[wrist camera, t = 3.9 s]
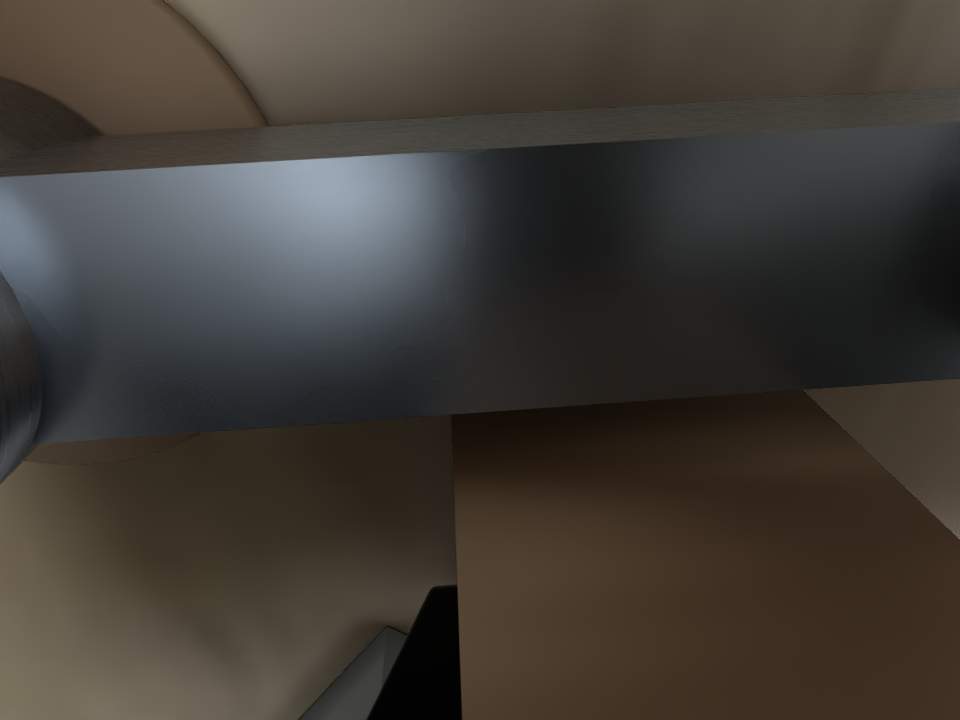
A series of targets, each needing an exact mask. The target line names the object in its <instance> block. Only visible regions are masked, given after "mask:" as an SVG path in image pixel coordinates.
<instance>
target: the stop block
mask: <svg viewBox="0 0 960 720" xmlns="http://www.w3.org/2000/svg"><path fill="white" fill-rule="evenodd" d="M451 418H452V446H453V474H454V502H455V530H456V558H457V587H458V615H459V643H460V671H461V699H462V720H960V540H959V539H958V538H957V537H956V536H955V535H954V534H953V533H952V532H951V531H950V530H949V529H948V528H947V527H946V526H945V525H943V524H942V523H941V522H940V521H939V520H938V519H937V518H936V517H935V516H934V515H933V514H932V513H931V512H930V511H929V510H928V509H927V508H926V507H925V506H924V505H922V504H921V503H920V502H919V501H918V500H917V499H916V498H915V497H914V496H913V495H912V494H911V493H910V492H909V491H908V490H907V489H906V488H905V487H904V486H903V485H901V484H900V483H899V482H898V481H897V480H896V479H895V478H894V477H893V476H892V475H891V474H890V473H889V472H888V471H887V470H886V469H885V468H884V467H883V466H882V465H881V464H879V463H878V462H877V461H876V460H875V459H874V458H873V457H872V456H871V455H870V454H869V453H868V452H867V451H866V450H865V449H864V448H863V447H862V446H861V445H860V444H858V443H857V442H856V441H855V440H854V439H853V438H852V437H851V436H850V435H849V434H848V433H847V432H846V431H845V430H844V429H843V428H842V427H841V426H840V425H839V424H837V423H836V422H835V421H834V420H833V419H832V418H831V417H830V416H829V415H828V414H827V413H826V412H825V411H824V410H823V409H822V408H821V407H820V406H819V405H818V404H817V403H815V402H814V401H813V400H812V399H811V398H810V397H809V396H808V395H807V394H806V393H805V392H804V391H803V390H789V391H775V392H761V393H747V394H733V395H719V396H705V397H691V398H677V399H662V400H648V401H634V402H620V403H606V404H592V405H578V406H564V407H550V408H536V409H522V410H507V411H493V412H479V413H465V414H451Z"/></svg>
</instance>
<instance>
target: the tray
mask: <svg viewBox="0 0 960 720" xmlns="http://www.w3.org/2000/svg"><path fill="white" fill-rule="evenodd" d="M406 637H407V635H404V634H402V633H400V632H398V631H396V630H394V629H392V628H389V627H386V628H385V629H384V630H383V631H382V632H381V633H380V634H379V635H378V636H377V637H376V638H375V639H374V641H373V642H372V643H371V644H370V645H369V646H368V647H367V648H366V649H365V650H364V651H363V652H362V653H361V654H360V655H359V656H358V658H357V659H356V660H355V661H354V662H353V663H352V664H351V665H350V666H349V667H348V668H347V669H346V670H345V671H344V672H343V673H342V674H341V676H340V677H339V678H338V679H337V680H336V681H335V682H334V683H333V684H332V685H331V686H330V687H329V688H328V689H327V690H326V691H325V693H324V694H323V695H322V696H321V697H320V698H319V699H318V700H317V701H316V702H315V703H314V704H313V705H312V706H311V707H310V708H309V710H308V711H307V712H306V713H305V714H304V715H303V716H302V717H301V718H300V719H299V720H366V718H367V716H368V714H369V712H370V710H371V708H372V706H373V704H374V702H375V700H376V698H377V696H378V694H379V692H380V690H381V688H382V686H383V684H384V682H385V680H386V678H387V676H388V674H389V672H390V670H391V668H392V666H393V664H394V662H395V660H396V658H397V655H398V653H399V651H400V649H401V647H402V645H403V643H404V641H405V639H406Z"/></svg>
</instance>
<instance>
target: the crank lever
mask: <svg viewBox="0 0 960 720" xmlns="http://www.w3.org/2000/svg"><path fill="white" fill-rule="evenodd" d="M958 378H960V88H948V89H930V90H912V91H894V92H876V93H859V94H841V95H823V96H805V97H787V98H769V99H752V100H734V101H716V102H698V103H680V104H663V105H645V106H627V107H609V108H591V109H573V110H556V111H538V112H520V113H502V114H484V115H466V116H449V117H431V118H413V119H395V120H377V121H360V122H342V123H324V124H306V125H288V126H270V127H253V128H235V129H217V130H199V131H181V132H163V133H146V134H128V135H110V136H102V135H101V134H100V133H99V132H98V131H97V130H96V129H94V128H93V127H92V126H91V125H90V124H88V123H87V122H86V121H85V120H84V119H82V118H81V117H80V116H78V115H77V114H75V113H74V112H72V111H71V110H70V109H68V108H67V107H65V106H64V105H62V104H61V103H59V102H57V101H55V100H54V99H52V98H50V97H48V96H46V95H44V94H42V93H40V92H39V91H37V90H35V89H32V88H30V87H27V86H25V85H22V84H20V83H17V82H15V81H12V80H9V79H5V78H2V77H0V484H1V483H2V482H3V481H4V480H5V479H6V478H7V477H8V476H9V475H10V474H11V473H12V472H13V471H14V470H15V469H16V468H17V467H18V466H19V465H20V464H21V463H22V462H23V461H24V460H25V459H26V458H27V457H28V456H29V455H30V454H31V453H32V452H33V451H34V450H35V449H36V448H37V447H38V446H39V445H40V444H42V443H57V442H71V441H85V440H99V439H113V438H127V437H141V436H155V435H169V434H183V433H197V432H212V431H226V430H240V429H254V428H268V427H282V426H296V425H310V424H324V423H338V422H352V421H367V420H381V419H395V418H409V417H423V416H437V415H451V414H465V413H479V412H493V411H507V410H522V409H536V408H550V407H564V406H578V405H592V404H606V403H620V402H634V401H648V400H662V399H677V398H691V397H705V396H719V395H733V394H747V393H761V392H775V391H789V390H803V389H817V388H832V387H846V386H860V385H874V384H888V383H902V382H916V381H930V380H944V379H958Z"/></svg>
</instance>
